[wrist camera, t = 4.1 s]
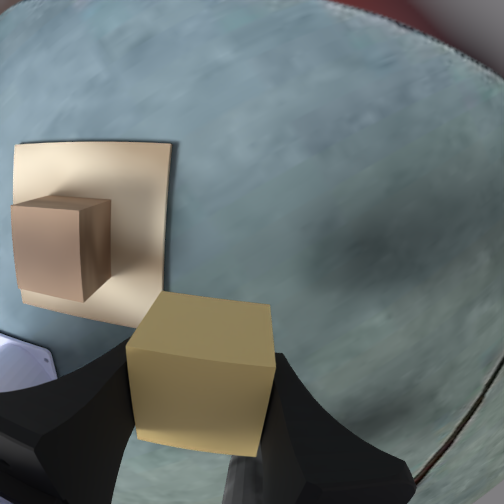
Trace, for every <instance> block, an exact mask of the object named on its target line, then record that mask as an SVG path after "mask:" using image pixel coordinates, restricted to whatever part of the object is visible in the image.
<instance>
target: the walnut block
mask: <svg viewBox="0 0 504 504" xmlns="http://www.w3.org/2000/svg"><path fill="white" fill-rule="evenodd" d="M11 225H12V240H13V251H14V261H15V269H16V277H17V284H18V288H19V289H23V290H27V291H32V292H36V293H40V294H44V295H49V296H53V297H58V298H62V299H67V300H72V301H77V302H81V303H84V302H85V301H86V300H87V299H88V298H89V297H90V296H91V295H93V294H94V293H95V292H96V291H97V290H98V289H99V288H100V287H101V286H102V285H103V284H104V283H105V282H107V281H108V280H109V279H110V278H111V200H110V199H96V198H81V197H66V196H44V197H40V198H36V199H33V200H29V201H25V202H21V203H18V204H14V205H11Z"/></svg>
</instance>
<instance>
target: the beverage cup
mask: <svg viewBox="0 0 504 504" xmlns="http://www.w3.org/2000/svg"><path fill="white" fill-rule="evenodd" d="M222 504H263V462H262V453H261V444H260V442H259V446H258V450H257V454H256V457H250V456H238V455H232V457H231V460H230V463H229V469H228V474H227V479H226V485H225V490H224V495H223V500H222Z"/></svg>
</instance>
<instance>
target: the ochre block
mask: <svg viewBox="0 0 504 504" xmlns="http://www.w3.org/2000/svg"><path fill="white" fill-rule="evenodd" d="M126 355H127V366H128V375H129V384H130V391H131V399H132V406H133V413H134V419H135V426H136V431H137V437H138V439H139V440H144V441H148V442H153V443H157V444H162V445H167V446H173V447H178V448H184V449H190V450H197V451H204V452H211V453H219V454H228V455H238V456H250V457H256V454H257V450H258V446H259V442H260V438H261V433H262V429H263V425H264V420H265V416H266V411H267V407H268V402H269V398H270V393H271V388H272V384H273V379H274V374H275V370H276V362H275V352H274V341H273V331H272V320H271V310H270V305H268V304H259V303H251V302H242V301H234V300H225V299H217V298H210V297H202V296H195V295H187V294H180V293H173V292H166V291H161V292H160V294H159V295H158V297H157V298H156V300H155V301H154V303H153V304H152V306H151V307H150V309H149V310H148V312H147V313H146V315H145V317H144V318H143V320H142V321H141V323H140V324H139V326H138V327H137V329H136V330H135V332H134V333H133V335H132V337H131V338H130V340H129V341H128V343H127V344H126Z"/></svg>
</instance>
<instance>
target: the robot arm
mask: <svg viewBox="0 0 504 504" xmlns="http://www.w3.org/2000/svg"><path fill="white" fill-rule="evenodd" d="M131 337H132V336H131ZM131 337H129V338H128V339H126V340H125V341H123V342H122V343H121V344H119V345H118V346H116V347H115V348H113V349H112V350H110V351H109V352H107V353H106V354H104V355H102V356H101V357H99V358H97V359H96V360H94V361H92V362H91V363H89V364H87V365H85V366H84V367H82V368H80V369H78V370H76V371H74V372H72V373H70V374H67V375H65V376H63V377H60V378H57V374H56V370H55V367H54V363H53V358H52V355H51V352H50V351H49V350H48V349H45V348H42V347H39V346H36V345H33V344H30V343H27V342H24V341H21V340H18V339H15V338H12V337H9V336H6V335H4V334H1V333H0V504H111V501H112V496H113V492H114V487H115V483H116V479H117V475H118V471H119V467H120V464H121V460H122V457H123V453H124V450H125V447H126V445H127V442H128V440H129V438H130V435H131V433H132V431H133V428H134V426H135V419H134V413H133V406H132V399H131V391H130V384H129V375H128V366H127V355H126V344H127V343H128V341H129V340H130V338H131ZM275 362H276V370H275V374H274V379H273V384H272V388H271V393H270V398H269V402H268V407H267V411H266V416H265V420H264V425H263V429H262V433H261V438H260V444H261V453H262V462H263V504H407V503H408V502H409V501H410V500H411V498H412V497H413V495H414V494H415V491H416V488H417V487H416V485H415V482H414V480H413V477H412V474H411V472H410V470H409V468H408V466H407V464H406V462H405V461H403V460H401V459H399V458H397V457H394V456H392V455H390V454H388V453H385V452H383V451H381V450H379V449H377V448H376V447H374V446H372V445H370V444H369V443H367V442H365V441H364V440H362V439H361V438H359V437H357V436H356V435H355V434H353V433H352V432H350V431H349V430H348V429H346V428H345V427H344V426H342V425H341V424H340V423H339V422H338V421H336V420H335V419H334V418H333V417H332V416H331V415H330V414H329V413H328V412H327V411H325V410H324V409H323V408H322V406H321V405H320V404H319V403H318V402H317V401H316V400H315V399H314V397H313V396H312V395H311V394H310V393H309V391H308V390H307V389H306V387H305V386H304V385H303V383H302V382H301V381H300V379H299V378H298V376H297V375H296V373H295V372H294V370H293V369H292V367H291V366H290V364H289V363H288V361H287V359H286V358H285V356H284V355H283V353H275Z"/></svg>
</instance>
